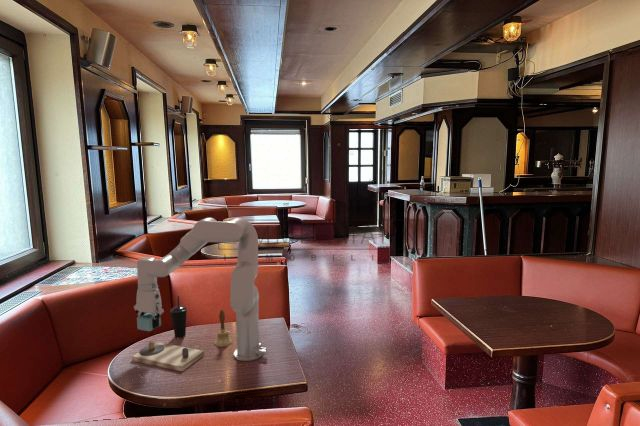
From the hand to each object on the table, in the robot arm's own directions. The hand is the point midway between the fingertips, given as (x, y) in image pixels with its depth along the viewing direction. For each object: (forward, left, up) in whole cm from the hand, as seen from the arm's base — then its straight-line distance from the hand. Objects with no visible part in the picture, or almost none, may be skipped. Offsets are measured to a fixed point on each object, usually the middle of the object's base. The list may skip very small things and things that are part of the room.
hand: (149, 325), depth 162 cm
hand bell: (-23, -20, -13) cm, 34 cm away
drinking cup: (+1, -19, -13) cm, 23 cm away
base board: (-9, 0, -13) cm, 16 cm away
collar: (0, 0, -1) cm, 1 cm away
